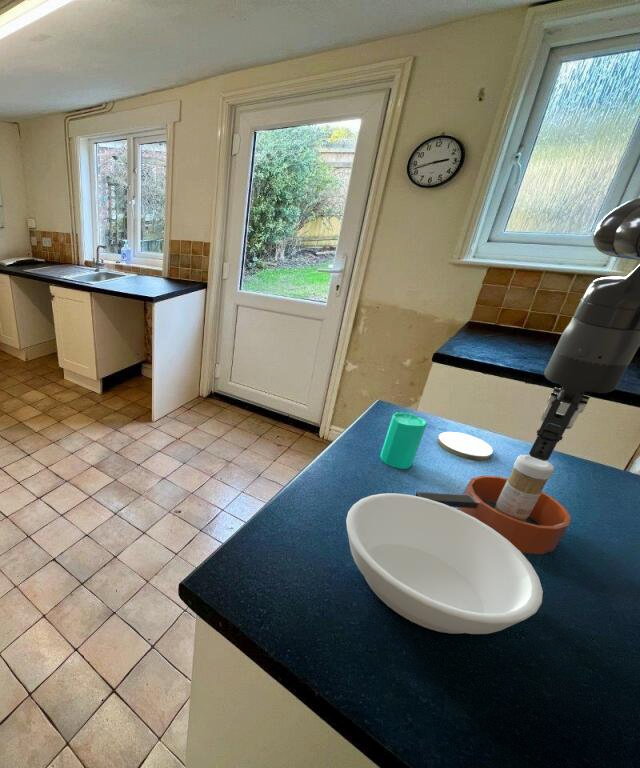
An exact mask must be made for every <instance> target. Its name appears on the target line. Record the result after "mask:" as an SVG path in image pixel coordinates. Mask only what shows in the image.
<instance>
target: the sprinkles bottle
mask: <svg viewBox="0 0 640 768" xmlns="http://www.w3.org/2000/svg"><path fill="white" fill-rule="evenodd" d="M514 461H515V462H514V463H513V467H512V468H513V469H512V471H511V473H510V475H509V476H508V480H507V482H506V484H505V486H504V488H503V490H502V492H501V494H500V496H499V498H498V500H497V502H496V503H495V506H494V507H493V508H494V509H495V510H497V511H498V512H500V513H503V514H505V515H507V516H509V517H512V518H514V519H516V520H519V521H523V522H526V521H527V519H528V518H529V515H530V513H531V511H532V510H533V508H534V506H535V504H536V502H537V500H538V498H539V497H540V495H541V491H542V492H543V489H544V487H545V485H546V484H547V482H548V481H549V480H550V479H551V478H552V476H553V473H554V471H555V466H554V465H553V464H552V463H551V462H549V461H548V460H547V461H543V460H540V459H537V458H534V457H531V456H530V455H529V454H520V455H518V456H517V457H516V459H515V460H514Z"/></svg>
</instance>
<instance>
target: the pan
mask: <svg viewBox="0 0 640 768" xmlns="http://www.w3.org/2000/svg"><path fill="white" fill-rule="evenodd" d="M508 479H509V477H508V478H507V477H503V476H499V475H486V474H485V475H484V474H483V475H479V476H474V477H471V479H470V480H469V482H468V483H467V485H466V487H465V489H464V491H463V493H462V494H454V493H440V492H439V493H438V492H422V491H421V492H419V491H417V492H416V493H415V495H414V496H417V497H422V498H426V499H430V500H433V501H436V502H439V503H443V504H445V505H448V506H450V507H452V508H457V510H460V511H462V512H464V513H466V514H468V515H470V516H472V517H474V518H476V519H478V520H479V521H481V522H482V523H484V524H486V525H487V526H489V527H491V528H492V529H494V530H495V531H496V532H498V533H499V534H500V535H502V536H503V537H504V538H506V539H507V540H508V541H509V542H510V543H512V544H513V545H514V546H515V547H516V548H517V549H518V550H519V551H520V552H521V553H522V554H530V555H531V554H533V555H544V554H547V553H551V552H553V551H555V549H556V547H557V546H558V544H559V543H560V541H561V539H562V538H563V536H564V534H565V533H566V531H567V529H568V528H569V525H570V523H571V520H572V516H571V515H570V513H569V511H568V510H567V508H566V507H565V506H564V505H563V504H561V503H560V502H559V501H557V500H556V499H555V498H554V497H553V496H551V495H549V494H547V493H545V492H544V491H543V490H542V491H541V495H540V497H539V498H538V500H537V502H536V504H535V506H534V508H533V510H532V511H531V513H530V515H529V517H528V518H529V519H531V520H532V521H534V522H536V523H537V524H534V523H530V522H526V521H525V522H523V521H519V520H516V519H514V518H512V517H509V516H507V515H505V514H503V513H500V512H498V511H497V510H495V509H494V508H495V507H492V506H491V505H489V504H487V503H486V502H489V503H494V504H496V502H497V500H498V498H499V496H500V494H501V492H502V490H503V488H504V486H505V484H506V482H507V480H508Z"/></svg>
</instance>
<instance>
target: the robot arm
mask: <svg viewBox="0 0 640 768" xmlns="http://www.w3.org/2000/svg"><path fill="white" fill-rule="evenodd" d="M592 242H593V244H594V245H593V246H594V247H595V248H596V249H597V251H599V252H600V253H602V254H603V255H606V256H609V257H614V258H620V259H628V260H635V261H640V197H636V198H634V199H631V200H629V201H627V202H625V203H622V204H621V205H619V206H618V207H616V208H614V209H613V210H612V211H610V212H609V213H608V214H606V215H605V216H604V217H603V219H601V221H599V223H598V224H597V225H596V227H595V230H594V232H593V235H592ZM639 348H640V263H639V264H638V265H637V266H636V267H634V269H633V270H631V272H629V273H628V274H627V275H625V276H605V277H604V276H603V277H600V278H596V279H595V280H593V281H591V282H590V283H589V284H588V286H587V288H586V289H585V291H584V293H583V295H582V297H581V299H580V301H579V303H578V306H577V307H576V309H575V311H574V313H573V316H572V318H571V319H570V321H569V323H568V324H567V326H566V327H565V328H564V329H563V332H562V333H561V336H560V338H559V339H558V342H557V344H556V347H555V348H554V350H553V353H552V354H551V357H550V359H549V361H548V363H547V365H546V368H545V369H544V372H543V374H544V377H545V379H547V380H548V381H550V382H552V383H553V384H558V385H559V386H561V388H558V387H554V388H553V390H552V392H551V393H550V395H549V397H548V399H547V401H546V403H547V405H546V407H545V409H544V411H543V413H542V414H541V416H540V420H541V422H542V424H541V425H540V427H539V428H538V429H537V430H536V439H535V440H534V442H533V445H532V447H531V449H530V451H529V453H528V455H530V456H531V457H534V458H537V459H540V460H543V461H548V460H549V459H550V457H551V455H552V453H553V452H554V450H555V448H556V446H557V444H558V443H559V442H560V441H562V440H563V438H564V436H563V435H564V433H565V431H566V430H569V429H572V428H573V426H574V424H575V423H576V420H577V419H578V417H579V415H580V414H581V413H583V412H584V410H585V408H586V406H587V405H588V404H589V400H590V398H591V396H589V395H586V394H585V393H587V392H588V393H594V394H595V393H596V394H606V393H607V394H608V393H611V392H613V391H615V390H616V388H617V387H618V385H619V383H620V381H621V379H622V378H623V376H624V374H625V373H626V371H627V369H628V367H629V365H630V364H631V362H632V361H633V358H634V356H635V354H636V352H637V351H638V349H639Z"/></svg>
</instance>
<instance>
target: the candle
mask: <svg viewBox="0 0 640 768" xmlns="http://www.w3.org/2000/svg"><path fill="white" fill-rule="evenodd" d="M426 427H427V421H426V419H423V418H421V417H419V416H417V415H415V414H413V412H398V411H396V412H395V413H393V414H392V416H391V420H390V422H389V425H388V429H387V431H386V436H385V438H384V441H383V445H382V448H381V452H380V454H379V457H380V460H381V461H382V462H383V464H385V465H388V466H390V467H392V468H394V469H395V468H396V469H400V470H404V469H410V468H411V467H412V466H413V463H414V461H415V458H416V455H417V452H418V449H419V446H420V444H421V441H422V438H423V435H424V432H425V430H426Z"/></svg>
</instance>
